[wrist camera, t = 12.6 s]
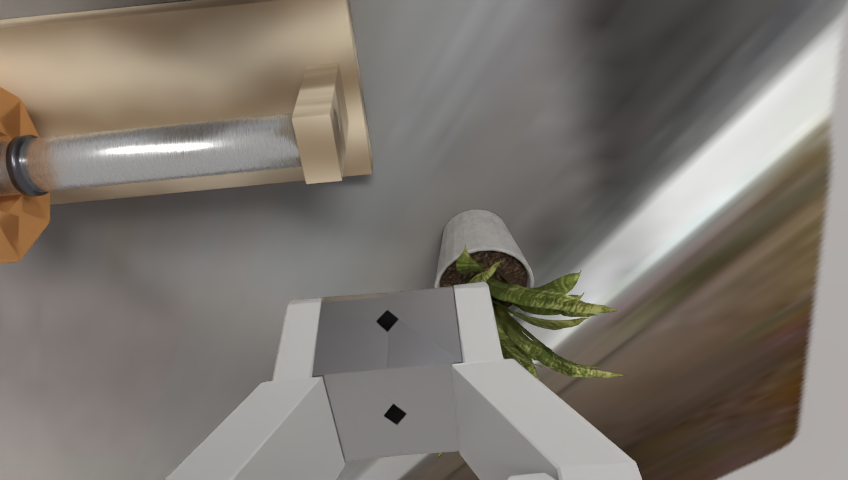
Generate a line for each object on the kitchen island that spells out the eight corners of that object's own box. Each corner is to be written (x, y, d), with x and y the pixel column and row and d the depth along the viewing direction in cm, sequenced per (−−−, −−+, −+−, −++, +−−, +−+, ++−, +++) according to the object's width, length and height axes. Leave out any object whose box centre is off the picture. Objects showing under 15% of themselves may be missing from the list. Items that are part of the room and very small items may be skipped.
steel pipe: (-120, 139, 36) (-162, 169, 33) (334, 95, 36) (330, 121, 33) (-87, 190, 38) (-124, 222, 35) (344, 149, 38) (340, 177, 35)
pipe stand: (-111, 30, 39) (-234, 92, 31) (346, -15, 38) (335, 36, 31) (-15, 197, 46) (-96, 281, 38) (372, 160, 46) (369, 237, 38)
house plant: (514, 332, 56) (553, 502, 43) (364, 294, 53) (356, 466, 40) (595, 203, 49) (672, 361, 35) (425, 149, 45) (441, 301, 32)
